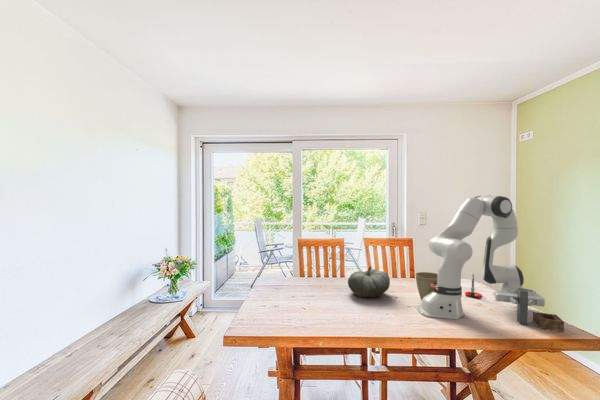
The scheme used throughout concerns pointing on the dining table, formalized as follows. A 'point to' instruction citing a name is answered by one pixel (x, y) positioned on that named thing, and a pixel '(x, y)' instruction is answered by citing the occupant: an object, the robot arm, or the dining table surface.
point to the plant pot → (425, 283)
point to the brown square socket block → (548, 321)
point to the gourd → (369, 283)
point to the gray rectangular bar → (522, 306)
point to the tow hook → (472, 293)
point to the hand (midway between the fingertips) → (522, 303)
